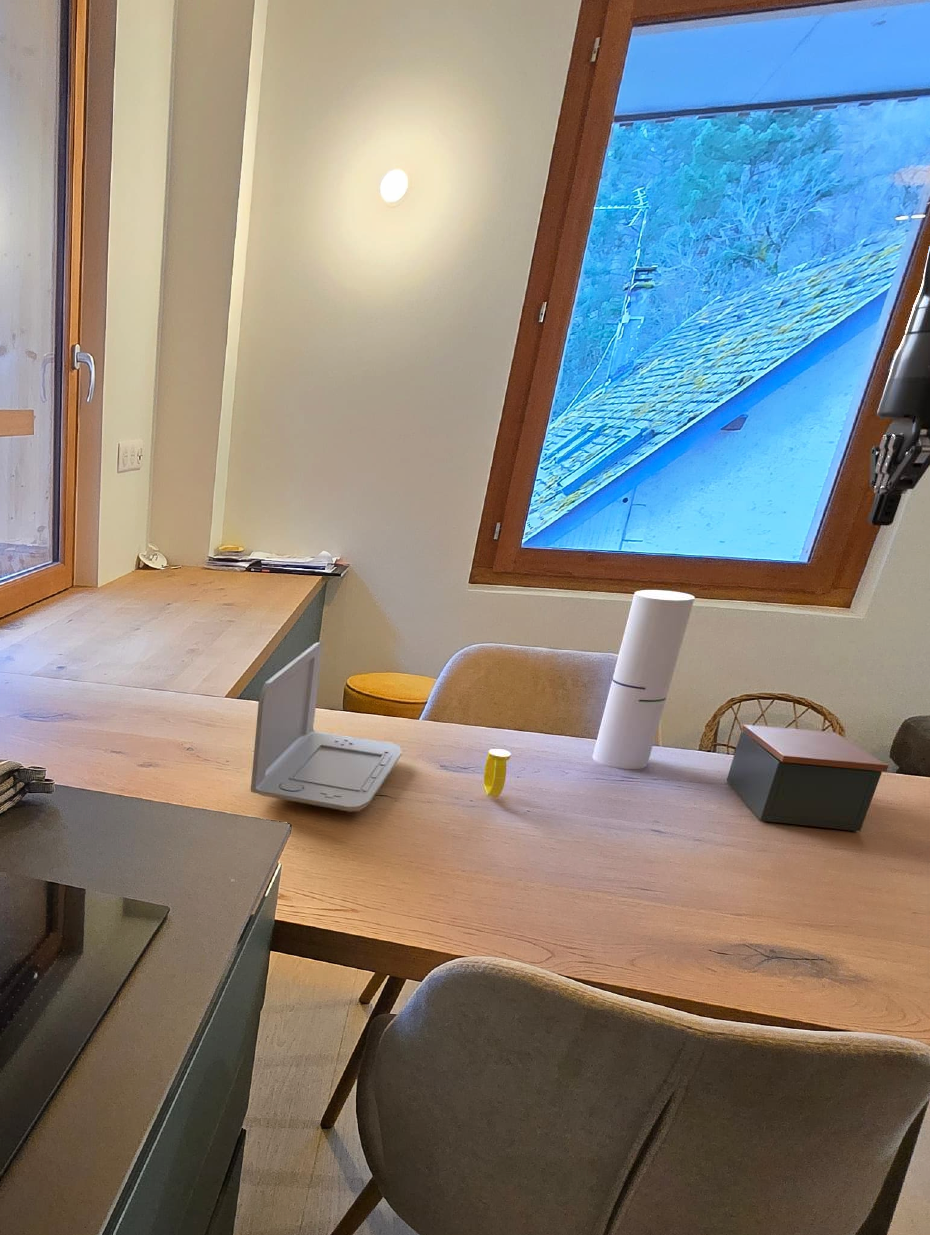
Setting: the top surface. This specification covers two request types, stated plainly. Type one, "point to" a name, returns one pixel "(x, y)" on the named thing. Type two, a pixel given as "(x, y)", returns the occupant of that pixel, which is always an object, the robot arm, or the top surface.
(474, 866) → the top surface
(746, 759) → the lidded box
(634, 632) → the cylindrical container
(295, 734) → the game console
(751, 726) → the panel
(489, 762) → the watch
